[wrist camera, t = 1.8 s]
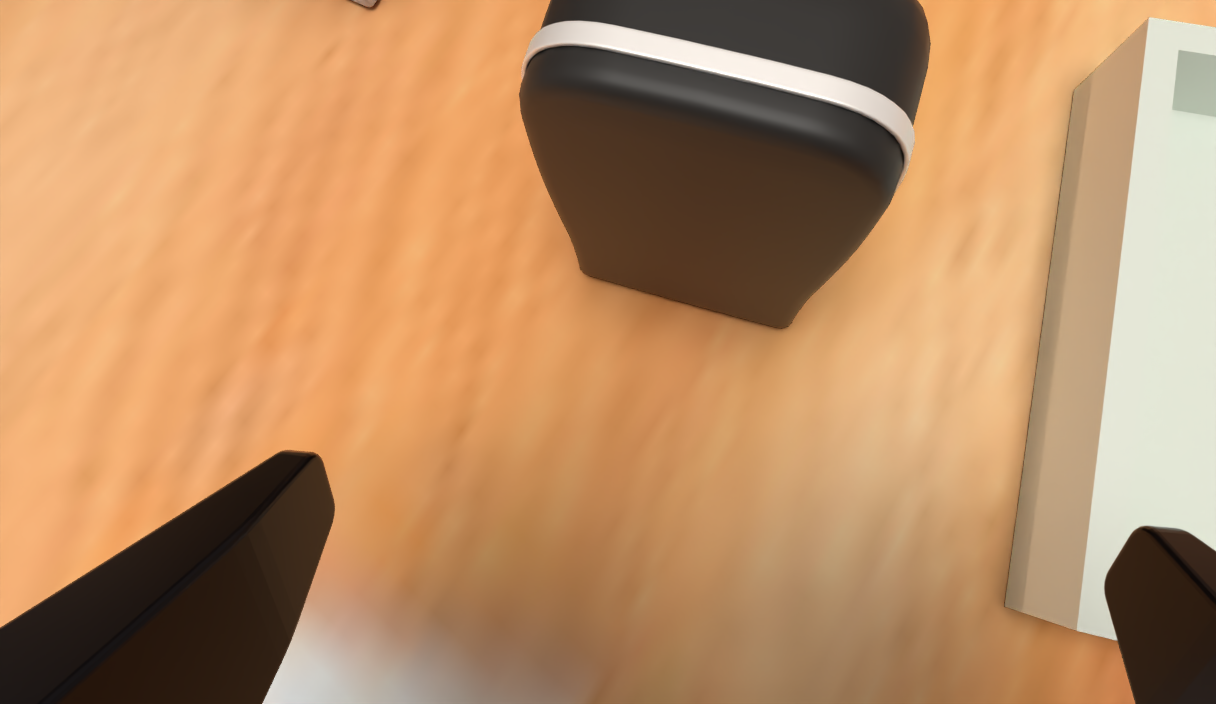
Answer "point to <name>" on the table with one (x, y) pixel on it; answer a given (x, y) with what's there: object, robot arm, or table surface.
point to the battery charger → (723, 139)
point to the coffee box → (366, 2)
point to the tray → (1125, 329)
